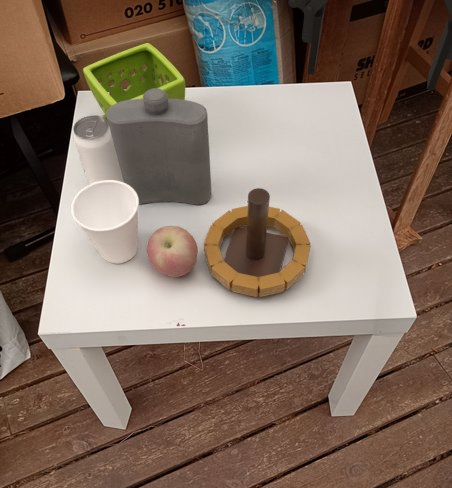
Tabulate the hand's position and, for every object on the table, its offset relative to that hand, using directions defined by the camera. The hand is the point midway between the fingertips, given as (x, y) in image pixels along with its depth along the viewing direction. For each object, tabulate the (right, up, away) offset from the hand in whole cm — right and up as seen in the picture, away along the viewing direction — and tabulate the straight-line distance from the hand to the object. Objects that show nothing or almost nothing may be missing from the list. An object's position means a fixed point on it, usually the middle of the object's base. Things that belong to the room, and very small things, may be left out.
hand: (370, 75), depth 58 cm
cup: (-34, -18, +25) cm, 46 cm away
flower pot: (-33, +7, +39) cm, 52 cm away
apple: (-25, -21, +23) cm, 40 cm away
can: (-38, -5, +33) cm, 51 cm away
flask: (-27, -7, +31) cm, 42 cm away
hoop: (-12, -19, +22) cm, 31 cm away
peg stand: (-12, -19, +23) cm, 33 cm away
